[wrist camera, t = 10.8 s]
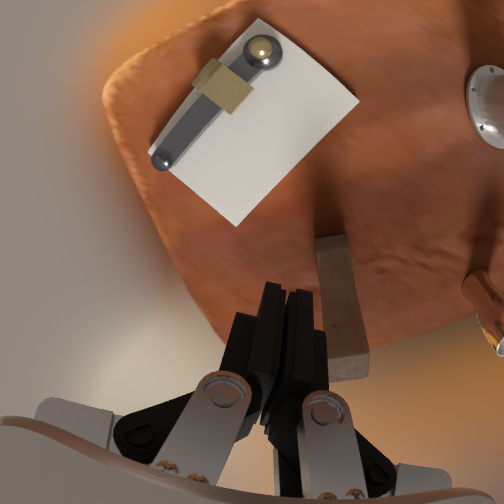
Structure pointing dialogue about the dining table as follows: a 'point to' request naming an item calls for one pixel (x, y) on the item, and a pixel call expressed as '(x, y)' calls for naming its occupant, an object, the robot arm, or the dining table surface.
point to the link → (210, 108)
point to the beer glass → (487, 306)
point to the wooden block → (341, 311)
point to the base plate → (260, 129)
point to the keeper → (229, 79)
